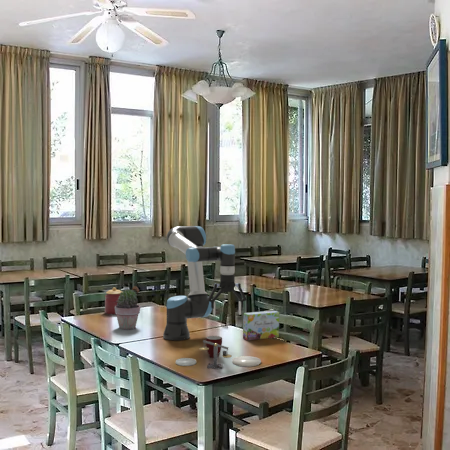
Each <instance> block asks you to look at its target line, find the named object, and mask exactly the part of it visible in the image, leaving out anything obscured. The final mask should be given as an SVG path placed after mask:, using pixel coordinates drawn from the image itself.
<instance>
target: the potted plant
mask: <svg viewBox="0 0 450 450" xmlns="http://www.w3.org/2000/svg"><path fill="white" fill-rule="evenodd" d="M138 293H140V289H139V287H137V286H136V285H134V286H133V287H132V288H131V289H128V288H126V289H124V290H122V292H121V293H120V296H119V298H118V301H116V302H118V303H117V305H116V306H115V314H114V315H116V319H117V324H118V328H119V329H120V330H134V329H136V326H137V322H138V318H139V315H140V312H141V307H143V306H142V305H141V306H140V304H138V301H139V300H138V298H137V297H138V296H139V297H140V295H138ZM114 303H115V302H114ZM133 328H134V329H133Z"/></svg>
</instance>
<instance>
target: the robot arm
mask: <svg viewBox="0 0 450 450" xmlns="http://www.w3.org/2000/svg"><path fill="white" fill-rule="evenodd" d="M166 242H167V244H168V245H169V246H170V247H171V248H176V249H178V250H179V251H180V252H182V253H183V254H184V255H185V258H186V261H187V274H188V281H189V282H188V283H189V293H188V295H174V296H171V297H169V298H168V299H167V300H166V306H165V307H166V324H165V327H164V331H163V335H162V337H163V339H165V340H168V341H185V340H188V339H190V336H191V334H190V331H189V328H188V327H189V326H188V319H198V318H202V319H203V318H207V317H209V316H210V315H211V313H212V314H213V316H216V300H218V298H219V296H221V294H223V292H224V293H231V292H232V293H233V294H234V295H235V296H236V297H237V299H238V315H242V309H243V308H244V302H247V297H246V294H245V293H244V291H243V289H242V285H241V283H240V282H237V283H235V280H236V279H235V278H236V277H235V276H236V275H235V273H236V271H235V269H236V267H235V266H236V265H235V262H236V261H235V260H236V246H235V244H230V243H228V244H227V243H225V244H224V243H223V244H221V245H220V246H219V245H218V246H209V247H208V246H207V247H205V245H206V242H207V234H206V232H205V230H204V228H203V227H202V226H199V225H197V226H196V225H189V226H188V225H187V226H185V225H183V226H182V225H180V226H179V225H178V226H174V227H172V228H171V229H169V230H168V231H167V234H166ZM203 262H220V265H219V266H220V267H219V268H220V270H219V271H220V272H219V274H220V275H219V276H220V277H219V278H220V279H219V281H220V282H219V283H216V282H215V283H213V288H212V289H211V292H210V294H209V296H208V292H206V291H205V280H204V279H205V277H204V269H203ZM219 287H220V288H219ZM235 288H237V289H238V291H239V293H240V295H239V293H238V292H237V291H236V290H235ZM217 289H219V290H218V292H216V290H217ZM215 293H216V294H215Z"/></svg>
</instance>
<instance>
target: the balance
mask: <svg viewBox="0 0 450 450" xmlns="http://www.w3.org/2000/svg"><path fill="white" fill-rule="evenodd" d="M202 343H203V346H202V347H199V350H200V351H207V350H209V348H208V347H206V343H207V344H211V345H214V358H213V363H212V362H211V363H208V365H207V369H217V370H218V369H221V370H222V369H223V367H224V364H223V363H218V358H217V351H218V347H221V349H224V350H222V355H221V356H222V358H224V359H225V358H226V359H227V358H228V359H229V358H232V354H228V353H227V351H228V350H229V347H228V346H225V345H223V344H222V345H218V344H217V343H212V342H208V341H206V339H205V340H204V339H203V340H202Z"/></svg>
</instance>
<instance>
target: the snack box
mask: <svg viewBox="0 0 450 450" xmlns="http://www.w3.org/2000/svg"><path fill="white" fill-rule="evenodd" d="M242 322H243V323H242V324H243V327H242V339H243V340H245V341H252V340H253V341H254V340H263V339H271V338H272V339H273V338H274V339H275V338H279V335H280V334H279V333H280V311H277V310H265V311H252V312H243V320H242Z"/></svg>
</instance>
